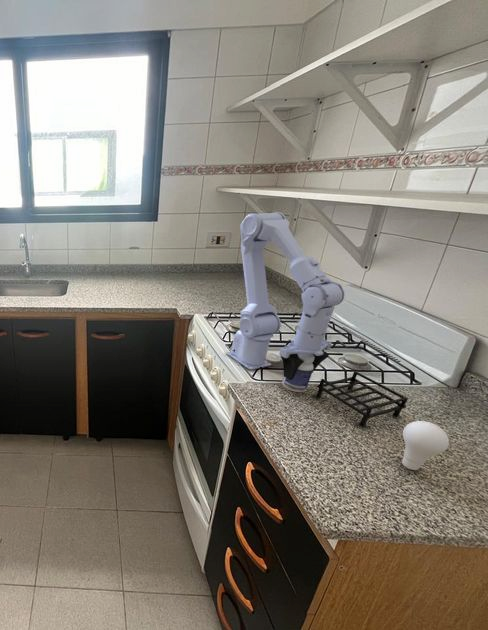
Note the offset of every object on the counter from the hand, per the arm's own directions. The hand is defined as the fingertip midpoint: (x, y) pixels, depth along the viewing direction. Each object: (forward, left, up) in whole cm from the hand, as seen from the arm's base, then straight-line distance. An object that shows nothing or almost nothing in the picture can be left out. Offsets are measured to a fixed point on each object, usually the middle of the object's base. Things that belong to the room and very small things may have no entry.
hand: (296, 375), depth 91 cm
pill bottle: (0, 0, -4) cm, 4 cm away
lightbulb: (+27, 0, -5) cm, 27 cm away
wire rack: (+10, +9, -5) cm, 14 cm away
